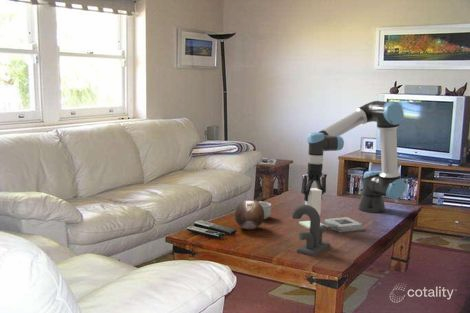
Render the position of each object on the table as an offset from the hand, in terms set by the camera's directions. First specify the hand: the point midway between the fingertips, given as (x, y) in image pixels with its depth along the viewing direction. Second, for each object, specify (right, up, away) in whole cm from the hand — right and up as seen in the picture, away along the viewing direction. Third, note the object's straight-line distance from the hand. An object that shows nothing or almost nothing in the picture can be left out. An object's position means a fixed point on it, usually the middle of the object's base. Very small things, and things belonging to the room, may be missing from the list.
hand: (312, 206), depth 272 cm
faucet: (-8, -16, -33) cm, 37 cm away
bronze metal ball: (-33, -11, -7) cm, 36 cm away
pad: (0, -10, +2) cm, 10 cm away
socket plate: (+16, -11, 0) cm, 19 cm away
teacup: (-26, -7, +14) cm, 31 cm away
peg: (0, -4, +1) cm, 4 cm away
